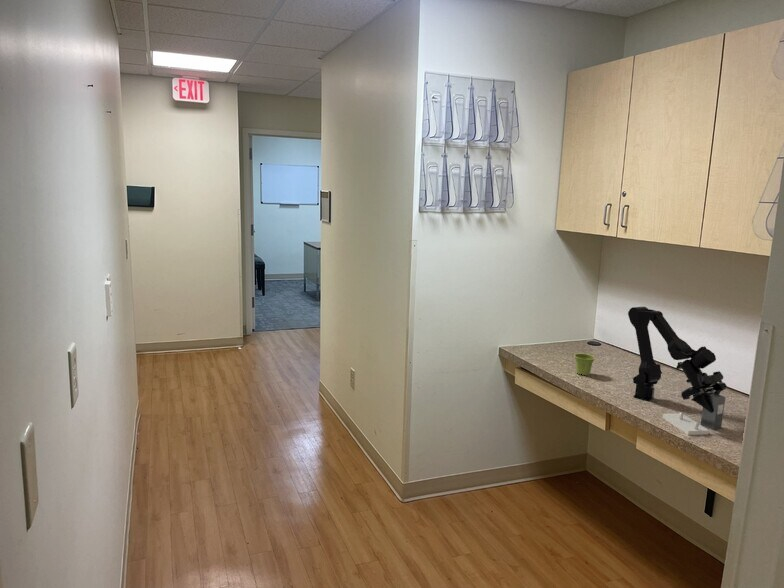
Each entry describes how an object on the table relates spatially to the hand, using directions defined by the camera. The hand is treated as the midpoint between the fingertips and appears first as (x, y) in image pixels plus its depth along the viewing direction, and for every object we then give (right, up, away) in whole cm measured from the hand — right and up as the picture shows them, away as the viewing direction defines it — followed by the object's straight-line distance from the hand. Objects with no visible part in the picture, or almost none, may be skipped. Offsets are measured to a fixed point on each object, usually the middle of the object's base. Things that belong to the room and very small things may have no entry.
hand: (716, 411), depth 215 cm
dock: (-10, -6, +3) cm, 12 cm away
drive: (-1, -6, +3) cm, 7 cm away
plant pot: (-30, +6, +61) cm, 68 cm away
